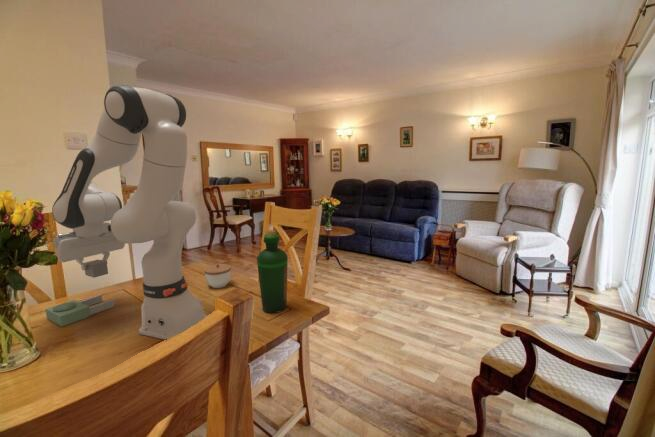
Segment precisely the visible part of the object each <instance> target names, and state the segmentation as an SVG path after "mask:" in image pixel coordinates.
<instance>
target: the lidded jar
mask: <svg viewBox="0 0 655 437" xmlns="http://www.w3.org/2000/svg"><path fill="white" fill-rule="evenodd" d="M203 272H204V276H205V277H204V278H205V280H206V284H208V285H209V286H210V287H211V288H213V289H221V288H224V287H226V286H227V285H228V284H229V282H230V281H231V278H232V265H230V264H228V263H215V264H211V265H208V266H206V267H204V269H203Z"/></svg>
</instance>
